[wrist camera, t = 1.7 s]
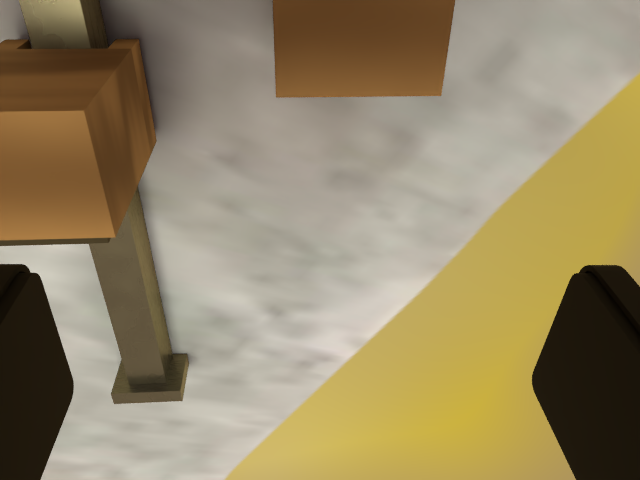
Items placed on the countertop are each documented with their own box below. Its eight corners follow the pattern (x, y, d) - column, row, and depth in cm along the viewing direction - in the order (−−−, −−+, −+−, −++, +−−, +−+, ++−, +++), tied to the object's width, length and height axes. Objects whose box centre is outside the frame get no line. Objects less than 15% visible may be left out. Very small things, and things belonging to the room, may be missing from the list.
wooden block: (6, 39, 24) (-104, 112, 17) (138, 39, 24) (84, 110, 17) (41, 153, 27) (-39, 254, 20) (158, 152, 28) (118, 250, 21)
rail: (-10, -109, 22) (-49, -104, 19) (101, -107, 22) (78, -103, 19) (125, 366, 38) (114, 403, 35) (188, 363, 38) (182, 400, 36)
